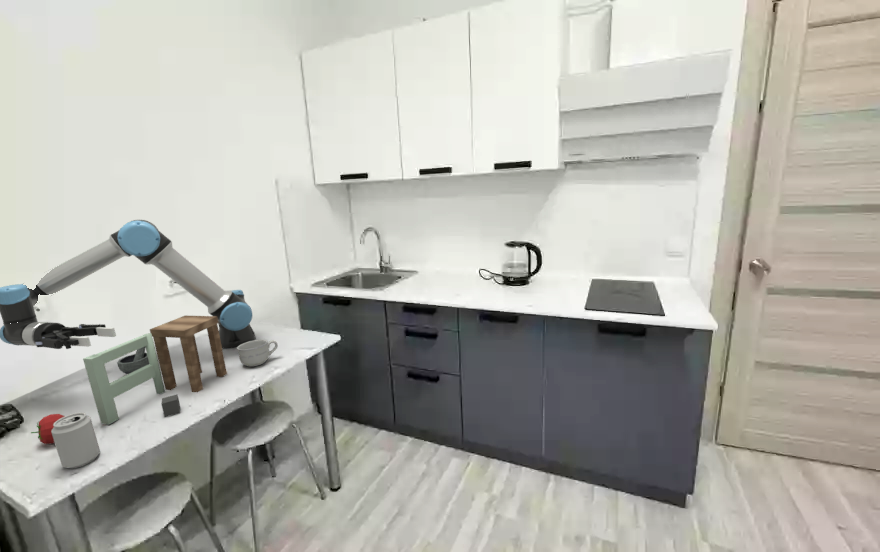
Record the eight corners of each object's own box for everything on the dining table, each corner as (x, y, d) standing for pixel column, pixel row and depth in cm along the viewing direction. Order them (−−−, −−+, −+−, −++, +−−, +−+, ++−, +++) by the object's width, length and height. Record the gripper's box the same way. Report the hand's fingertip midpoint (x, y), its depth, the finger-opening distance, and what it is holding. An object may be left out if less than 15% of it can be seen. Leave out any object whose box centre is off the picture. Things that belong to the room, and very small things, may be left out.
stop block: (165, 411, 126) (162, 398, 125) (180, 407, 128) (177, 394, 127) (164, 417, 122) (161, 403, 121) (180, 412, 124) (177, 399, 123)
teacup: (237, 371, 151) (234, 351, 149) (243, 360, 161) (239, 340, 159) (278, 365, 154) (274, 345, 152) (280, 354, 164) (277, 335, 162)
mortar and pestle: (136, 381, 147) (128, 350, 145) (115, 381, 149) (106, 350, 146) (162, 367, 158) (155, 338, 155) (141, 367, 160) (134, 338, 157)
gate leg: (160, 390, 139) (146, 333, 134) (167, 390, 138) (154, 333, 134) (101, 423, 120) (82, 358, 116) (109, 424, 120) (91, 359, 115)
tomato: (68, 405, 116) (30, 413, 110) (72, 429, 112) (33, 438, 106) (65, 420, 119) (28, 429, 113) (69, 444, 116) (31, 454, 110)
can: (103, 458, 105) (91, 416, 102) (64, 475, 99) (51, 431, 97) (97, 447, 110) (86, 407, 107) (60, 462, 104) (47, 420, 102)
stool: (196, 371, 153) (184, 315, 148) (228, 373, 149) (217, 316, 144) (163, 390, 140) (149, 329, 135) (197, 393, 136) (184, 330, 131)
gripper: (82, 333, 140) (135, 336, 134) (11, 358, 121) (69, 362, 115) (76, 313, 138) (129, 314, 132) (3, 334, 120) (62, 337, 114)
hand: (101, 337), depth 124 cm, fingers open, 7 cm apart
